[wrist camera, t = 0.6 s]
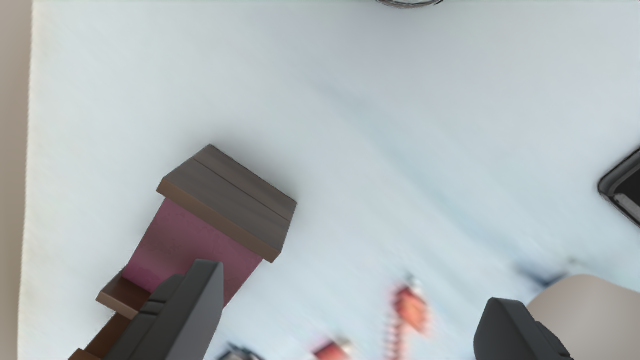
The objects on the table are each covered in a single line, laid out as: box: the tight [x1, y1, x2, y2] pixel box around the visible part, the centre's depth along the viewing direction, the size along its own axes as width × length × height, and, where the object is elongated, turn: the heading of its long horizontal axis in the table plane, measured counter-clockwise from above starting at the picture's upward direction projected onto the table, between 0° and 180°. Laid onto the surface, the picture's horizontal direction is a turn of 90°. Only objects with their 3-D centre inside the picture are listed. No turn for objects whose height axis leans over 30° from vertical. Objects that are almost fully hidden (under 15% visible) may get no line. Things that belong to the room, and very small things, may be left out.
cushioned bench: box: [96, 144, 297, 320], centre depth 28 cm, size 13×9×8 cm
